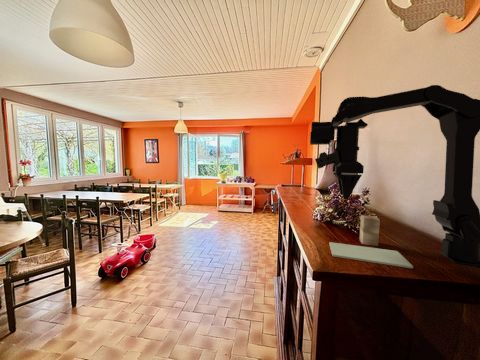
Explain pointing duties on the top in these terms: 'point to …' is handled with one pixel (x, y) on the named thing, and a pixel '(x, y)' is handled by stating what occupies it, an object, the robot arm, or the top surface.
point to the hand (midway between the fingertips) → (344, 196)
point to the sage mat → (369, 254)
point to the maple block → (369, 230)
